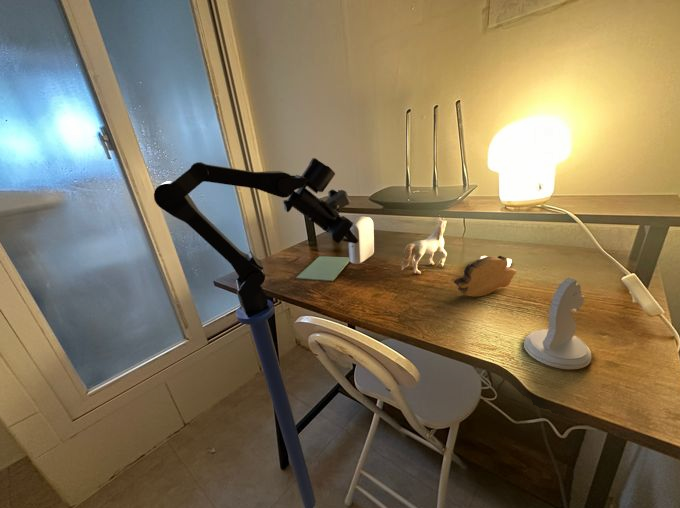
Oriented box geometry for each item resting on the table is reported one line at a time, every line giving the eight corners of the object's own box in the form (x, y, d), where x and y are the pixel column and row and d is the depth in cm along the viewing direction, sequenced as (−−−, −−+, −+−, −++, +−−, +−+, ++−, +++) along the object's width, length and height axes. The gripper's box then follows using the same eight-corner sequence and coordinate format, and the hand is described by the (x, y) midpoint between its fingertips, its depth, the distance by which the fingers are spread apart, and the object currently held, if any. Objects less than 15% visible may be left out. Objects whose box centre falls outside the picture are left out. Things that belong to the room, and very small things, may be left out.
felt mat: (332, 281, 93) (332, 280, 93) (296, 278, 99) (296, 277, 98) (352, 258, 107) (352, 257, 107) (319, 257, 113) (319, 256, 113)
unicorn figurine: (457, 259, 95) (460, 217, 89) (419, 282, 85) (419, 237, 79) (437, 254, 101) (438, 215, 95) (399, 275, 91) (398, 232, 85)
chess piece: (603, 354, 53) (629, 278, 46) (568, 378, 49) (591, 299, 43) (545, 328, 61) (560, 260, 54) (512, 346, 58) (523, 276, 51)
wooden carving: (500, 280, 80) (504, 245, 75) (515, 287, 76) (521, 250, 72) (449, 298, 75) (450, 262, 71) (462, 306, 72) (465, 268, 67)
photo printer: (360, 265, 86) (358, 221, 81) (347, 263, 88) (345, 221, 83) (376, 254, 93) (375, 214, 89) (363, 252, 96) (362, 213, 91)
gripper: (341, 185, 69) (386, 224, 76) (320, 178, 86) (359, 210, 93) (313, 224, 71) (359, 259, 78) (298, 210, 87) (337, 239, 94)
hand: (354, 239), depth 86 cm, fingers closed on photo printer, 4 cm apart
